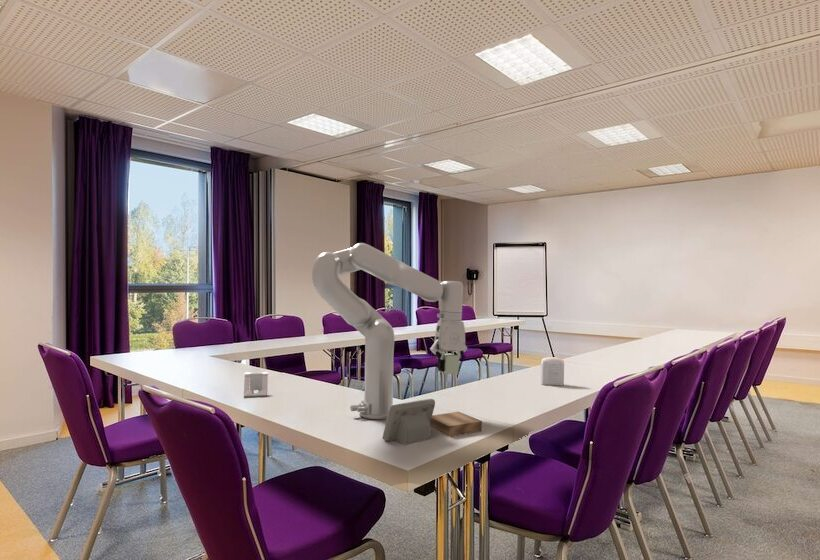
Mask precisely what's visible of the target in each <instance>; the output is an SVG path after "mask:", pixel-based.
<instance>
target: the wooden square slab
mask: <svg viewBox="0 0 820 560" xmlns="http://www.w3.org/2000/svg"><path fill="white" fill-rule="evenodd" d="M430 429H433V430H435V432H436V431H437V432H439V433H441V434H443V435H445V436H447V437H449V436H450V437H454V436H453V435H456V436H460V435H459V434H462V435H466V434H465V433H467V434H472V433H471V432H473V433H477V432H476V431H479V432H482V429H483V421H482V420H480V419H478V418H475V417H473V416H471V415H469V414H468V415H467V414H465V413H464V412H460V411H454V412H447V413H440V414H432V418H431V421H430Z"/></svg>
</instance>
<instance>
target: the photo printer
mask: <svg viewBox="0 0 820 560" xmlns="http://www.w3.org/2000/svg"><path fill="white" fill-rule="evenodd" d="M564 380H565V361H564V359H562V358H559V357H555V356H554V357H553V356H549V357H544V358H541V362H540V384H541V385H542V386H543V385H544V386H561V387H562V386H564V384H565V381H564Z"/></svg>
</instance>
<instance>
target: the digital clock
mask: <svg viewBox="0 0 820 560" xmlns="http://www.w3.org/2000/svg"><path fill="white" fill-rule="evenodd" d="M435 406H436V402H435V399H433V398H427V399H420V400H419V399H418V400H415V401H414V400H413V401H410V402H403V403H397V404H393V405H392V406H391V407H390V409H389V413H388V417H387V419H386V420H385V426H384V429H383V434H382V439H383V440H384V441H386V442H389V441H396V442H399V443H401V444H404V445H409V444H412V443H417V442H421V441H425V440H430V439H431V428H430V421H431V418H432V415H434V410H435Z"/></svg>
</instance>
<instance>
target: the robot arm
mask: <svg viewBox="0 0 820 560" xmlns="http://www.w3.org/2000/svg"><path fill="white" fill-rule="evenodd" d="M360 270H361V271H363V272H365V273H367V274H370V275H372V276H373V277H376V278H377V279H379V280H381V281H383V282H385V283H387V284H389V285H392V286H396V287H398V288H401V289H404V290H405V291H407V292H409V293H412V294H414V295H415V296H418V298H419V297H420V298H421V300H424V301H425V302H430V303H431V302H432V303H436V302H438V301H439V313H437V314H436V317H437V318H438V319H439V320H437V324H436V326H435V327H436V328H435V333H434V334H435V335H434V341H433V344H432V345H431V347H430V348H429V351H431V352H432V353H433V355H434V356H435V357H436V359H437V371H438V370H439V371H442V372H444V370H445V360H444V356H445V354H446V352H452V354H455V355H458V356H459V360H460V359H461V358H462V356H463V355H464V353H465V352H466V351H467V350H468V347H467V345H466V330H465V322H464V321H462V317H463V299H464V298H463V297H464V284H463V282H462V281H457V280H444V281H442V280H441V281H439V279H436V278H434V277H433V276H430V275H428V274H426V273H424V272H422V271H420V270H418V269H416V268H414V267H412V266H410V265H408V264H406V263H405V262H403V261H401V260H399V259H397V258H395V257H393V256H391V255H389V254H388V253H385V252H383V251H381V250H380V249H377V248H375V247H374V246H372V245H370V244H367V243H365V242H358V243H356V244H354V245H353V246H352V247H350V248H347V249H342V250H339V251H335V252H331V251H324V252H321V253H320V254H319V255H317V256H316V258H315V260H314V262H313V265H312V270H311V278H312V283H313V287H314V289H315V290H316V292H317V293H318V295H319V296H320V297H321V298H322V299H323V300H324V302H325V303H327V304H328V305H329V306H330V307H331V308H332V309H333V310H334V311H335V312H336V313H337V314H338V315H339V316H340V317H341V318H342V319H343V320H344V321H345V322H346V323H347V324H348V325H350V326H352V327H353V328H355V330H356V331H358V332H359V333H360V334H361V335H362V336H363V337H364V339H365V341H364V342H365V343H364V344H365V345H364V346H365V347H364V349H365V351H364V397H363V398H364V400H361V403H359V404H351V405H350V406H349V407H350V408H349V409H350V411H351V412H357V413H359V416H361V417H362V418H365V419H369V420H370V419H371V420H387V417H388V413H389V409H390V407H391V406H392V405H394V404H393V403H394V401H393V400H394V399H393V397H394V351H395V331H394V328H393V326H392V325H391V324H390V322H388V321H387V320H386V318H384V317H383V316H382V315H381V314H380V313H379V312H378V311H377V310H376V309H375V308H374V307H372V305H370V303H368V302H367V301H366V300H365V299H363V298H361V297H359V296H358V295H357V294H356V293H355V292H354V291H352V290H351V289H350V288H349V286H347V285H346V284H345V283H344V282H343V281H342V280H341V278H340V276H343V275H347V274H350V273H354V272H357V271H360Z"/></svg>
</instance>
